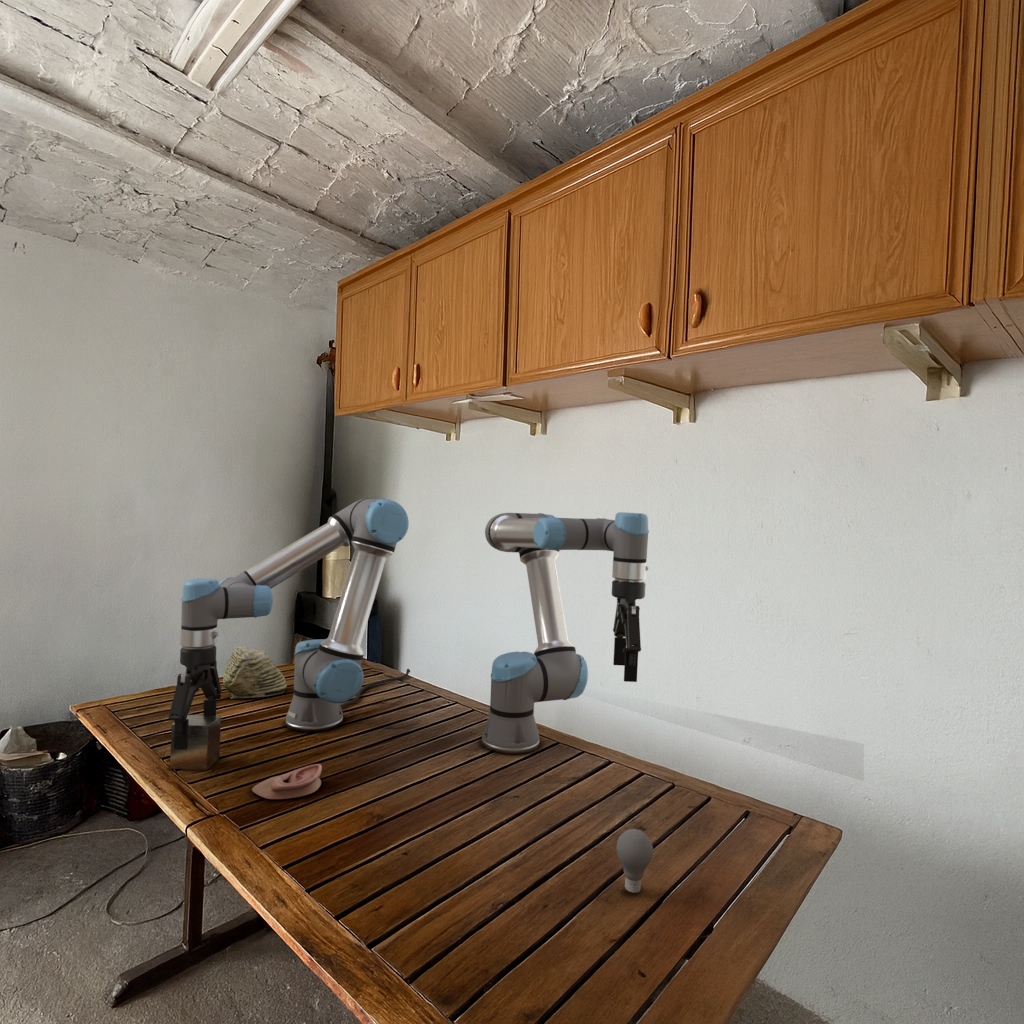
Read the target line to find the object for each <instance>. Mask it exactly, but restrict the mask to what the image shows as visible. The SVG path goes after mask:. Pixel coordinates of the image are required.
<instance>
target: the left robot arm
mask: <svg viewBox="0 0 1024 1024" xmlns="http://www.w3.org/2000/svg"><path fill="white" fill-rule="evenodd" d="M409 521H410V520H409V517H408V513H407V511H406V510H405V508H404V506H402V505H401V504H400V503H398V502H397V501H394V500H392V499H387V498H372V497H366V498H361V499H359V500H356V501H354V502H352V503H351V504H349V505H348V506H346V507H344V508H343V509H341V510H339V511H338V512H336V513H334V514H332V515H331V516H330V517H328V520H327V523H325V524H323V525H321V526H319V527H318V528H316V529H314V530H312V531H311V532H309V533H308V534H306V535H304V536H302V537H301V538H298V539H297V540H295V541H294V542H292V543H290V544H288V545H287V546H286V547H284V548H282V549H280V550H278V551H276V552H275V553H273V554H271V555H269V556H268V557H266V558H265V559H263V560H261V561H260V562H258V563H255V564H254V565H252V566H251V567H249V568H248V569H246V570H244V571H243V572H240V573H239V574H237V575H235V576H232V577H231V576H230V577H226V578H224V579H222V580H221V581H220V582H219V580H218V579H216V578H206V577H205V578H202V577H201V578H200V577H199V578H191V579H187V580H186V581H185V582H184V583H183V585H182V597H181V599H180V600H181V621H180V622H181V624H180V642H179V644H180V646H181V648H180V650H179V651H180V652H179V663H180V665H182V666H184V667H185V672H184V673H178V674H177V678H176V687H175V691H174V695H173V698H172V703H171V707H170V710H169V715H168V721H173V722H174V723H175V727H174V749H183V750H186V749H187V748H188V725H189V719H186V718H187V715H189V713H190V711H191V707H192V704H193V701H194V698H195V695H196V694H197V693H198V692H199V690H200V689H201V691H202V693H203V695H204V697H205V699H204V700H203V714H202V715H204V716H217V700H221V699H222V687H221V681H220V677H219V672H218V668H217V667H218V666H217V664H218V663H217V662H218V661H217V646H216V644H217V641H218V640H217V638H218V636H219V632H218V620H226V619H243V618H244V619H245V618H247V619H248V618H259V617H267V616H269V615H270V613H272V609H273V601H274V600H273V599H274V598H273V592H272V589H273V588H275V587H276V586H278V585H280V584H281V583H283V582H284V581H286V580H288V579H290V578H291V577H292V576H295V575H296V574H298V573H299V572H301V571H303V570H304V569H307V567H310V566H311V565H314V564H315V563H316V562H317V561H320V560H321V559H323V558H325V557H326V556H328V555H330V554H331V553H332V552H334V551H336V550H338V549H339V548H341V547H346V548H348V547H350V546H351V545H352V546H353V548H354V551H353V555H352V558H351V560H350V561H351V562H350V565H349V568H348V571H347V574H346V577H345V581H344V583H343V584H344V585H343V588H342V590H341V595H340V598H339V601H338V605H337V607H336V611H335V614H334V617H333V621H332V624H331V626H330V631H329V634H328V637H327V638H323V639H322V638H320V639H307V640H303V641H299V642H297V644H296V645H295V650H294V651H295V652H294V653H293V654H294V655H293V656H294V672H293V673H294V674H293V695H292V696H293V697H292V699H291V702H290V704H289V708H288V711H287V713H286V715H285V726H286V728H287V729H289V730H291V731H294V732H295V731H296V732H301V733H316V732H325V731H329V730H332V729H335V728H337V727H339V726H340V725H342V723H343V722H344V714H343V709H342V708H345V707H347V706H351V705H352V704H354V703H356V702H357V701H358V700H359V699H360V697H361V693H363V691H365V690H366V689H368V688H371V687H374V686H377V685H381V684H385V683H389V682H393V681H400V680H403V679H406V678H407V677H408V676H409V674H410V673H411V670H410V669H409V668H406V672H405V674H404V675H401V676H396V677H390V678H386V679H381V680H378V681H374V682H371V683H368V684H366V685H364V686H363V684H364V678H365V677H364V676H365V675H364V672H363V668H362V662H363V658H364V655H365V651H364V649H363V648H362V642H363V638H364V634H365V632H366V628H367V625H368V621H369V618H370V615H371V611H372V609H373V604H374V601H375V598H376V594H377V592H378V587H379V584H380V581H381V578H382V574H383V572H384V571H383V570H384V568H385V564H386V561H387V558H389V557H391V556H392V555H394V554H395V550H396V547H397V544H398V543H399V542H400V541H402V540H403V539H404V538H405V537H406V535H407V533H408V531H409V527H410V526H409ZM355 696H356V697H355ZM354 697H355V698H354ZM351 699H352V700H351Z"/></svg>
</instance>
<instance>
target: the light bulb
mask: <svg viewBox="0 0 1024 1024" xmlns="http://www.w3.org/2000/svg"><path fill="white" fill-rule="evenodd" d="M615 849H616V854H617V857H618V859H619V861H620V863H621V865H622V867H623V873H624V874H623V875H624V876H625V878H624V888H625V890H627V891H628V892H630V893H634V894H635V893H639V892H640V891H641V889H642V887H641V886H642V879H643V877H644V875H645V871H646V868H647V867H648V866H649V864H650V863H651V861H652V859H653V855H654V847H653V843H652V841H651V838H649V836H648V835H647V834H646V833H645V832H643V831H642V830H641V829H636V828H629V829H627V830H625V831H623V832H622V833H621V834H620V835H619V837H618V839H617V841H616V847H615Z"/></svg>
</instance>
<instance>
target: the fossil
mask: <svg viewBox="0 0 1024 1024" xmlns="http://www.w3.org/2000/svg"><path fill="white" fill-rule="evenodd" d="M222 676H223V677H222V685H223V687H224V688H225V690H226V691H228V693H229V698H230V699H250V698H264V697H271V696H275V695H281V694H284V693H285V691H286V689H287V687H288V686H287V680H286V678H285V676H284V674H283V673H282V672H281V669H279V668H278V667H277V665H276V663H275V662H274V660H273V659H272V658H271V657H270V656H269V655H268V654H267V653H266V652H265V650H264V649H263V648H260V647H258V648H251V647H247V646H246V647H245V646H238V647H237V648H236V649H235V650H233V651H232V653H231V656H230V657H229V659H228V660H227V663H226V666H225V668H224V671H223V675H222Z"/></svg>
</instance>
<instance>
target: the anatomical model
mask: <svg viewBox="0 0 1024 1024" xmlns="http://www.w3.org/2000/svg"><path fill="white" fill-rule="evenodd" d="M322 770H323V766H322V764H320V763H314V764H309V765H306V766H303V767H300V768H297V769H294V770H292V771H289V772H286V773H283V774H280V775H276V776H272V777H269V778H267V779H264V780H263V781H261V782H259V783H257V784H256V785H254V786H252V788H251V791H252V793H254V794H256V795H257V796H259V797H261V798H264V799H267V800H285V799H294V798H299V797H304V796H307V795H311V794H312V793H315V792H316V791H318V790H319V788H320V787H321V785H322V780H321V779H320V776H321V774H322Z"/></svg>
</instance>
